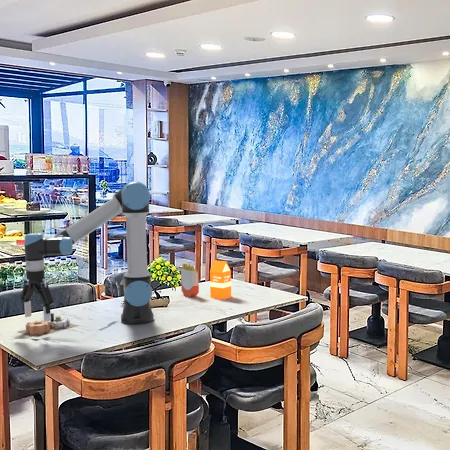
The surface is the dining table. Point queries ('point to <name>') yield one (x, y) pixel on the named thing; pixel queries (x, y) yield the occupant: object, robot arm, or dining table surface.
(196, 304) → the dining table surface
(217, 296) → the orange juice
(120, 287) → the sundae
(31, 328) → the loose gear
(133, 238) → the robot arm
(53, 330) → the gear board
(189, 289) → the french fries container
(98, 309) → the dining table surface
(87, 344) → the dining table surface
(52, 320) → the gear
